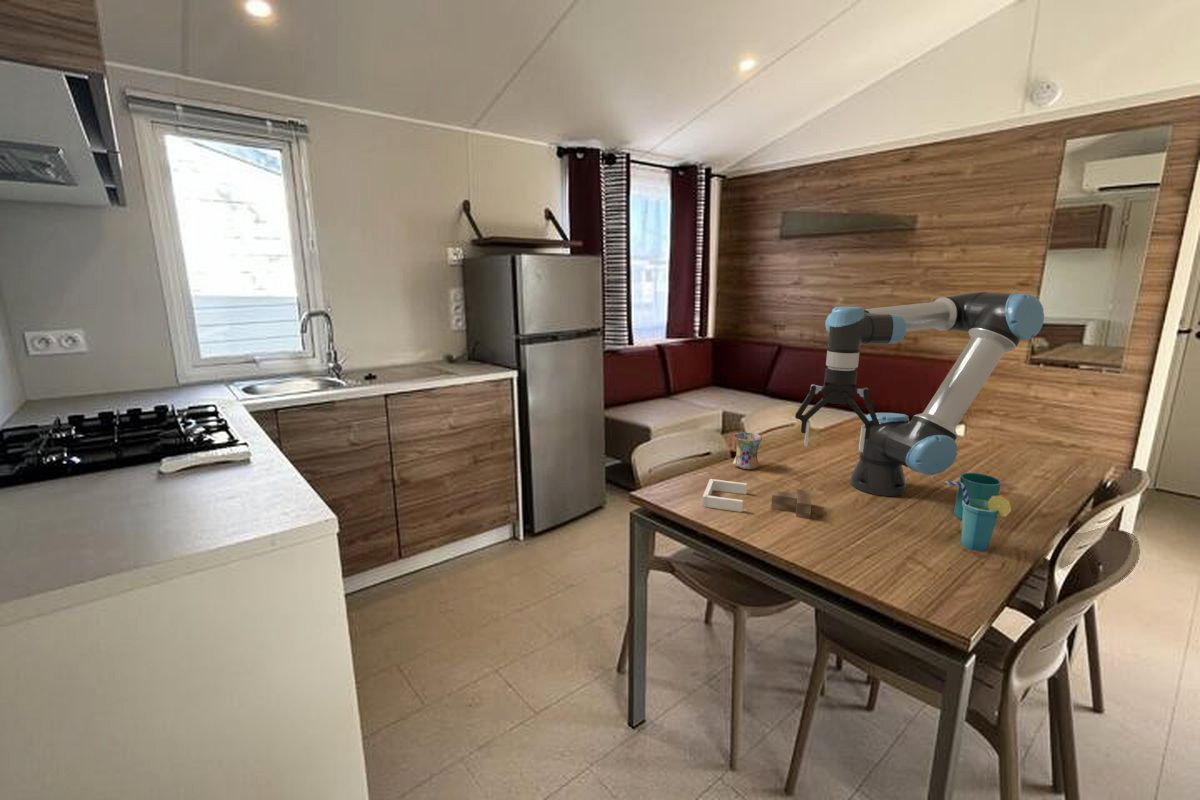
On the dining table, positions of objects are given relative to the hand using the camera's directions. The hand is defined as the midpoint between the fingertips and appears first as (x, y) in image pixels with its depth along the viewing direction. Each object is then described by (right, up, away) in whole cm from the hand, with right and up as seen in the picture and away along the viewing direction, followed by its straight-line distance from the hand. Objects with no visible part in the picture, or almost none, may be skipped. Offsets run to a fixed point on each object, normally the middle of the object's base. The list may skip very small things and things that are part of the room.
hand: (832, 447), depth 144 cm
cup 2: (+28, -22, -13) cm, 38 cm away
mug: (-12, -10, +41) cm, 44 cm away
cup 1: (+40, -19, +3) cm, 44 cm away
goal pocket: (-25, -16, +13) cm, 32 cm away
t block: (-9, -18, +7) cm, 21 cm away
